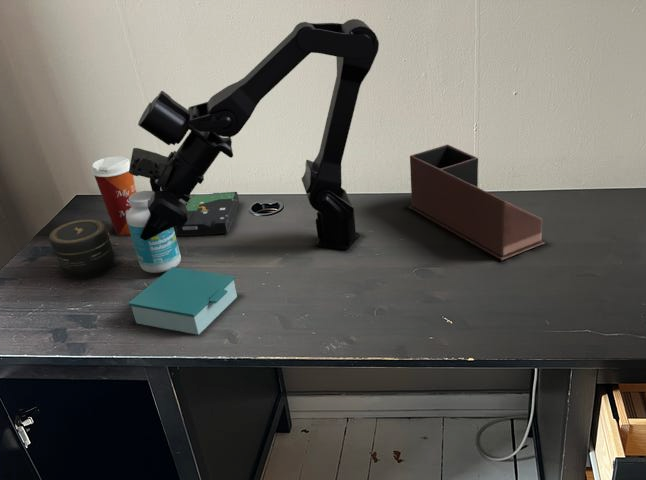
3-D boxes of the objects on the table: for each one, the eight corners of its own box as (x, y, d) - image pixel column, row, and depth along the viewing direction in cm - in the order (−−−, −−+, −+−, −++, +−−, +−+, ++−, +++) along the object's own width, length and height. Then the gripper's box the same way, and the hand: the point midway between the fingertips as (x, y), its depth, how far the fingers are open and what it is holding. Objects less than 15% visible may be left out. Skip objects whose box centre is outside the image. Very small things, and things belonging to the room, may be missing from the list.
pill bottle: (160, 278, 131) (140, 208, 123) (132, 269, 134) (110, 200, 126) (190, 259, 136) (173, 191, 128) (162, 251, 139) (143, 184, 131)
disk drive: (229, 234, 145) (239, 202, 157) (227, 222, 144) (237, 190, 156) (177, 238, 145) (191, 205, 157) (174, 225, 144) (188, 193, 156)
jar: (95, 250, 142) (84, 214, 138) (128, 263, 138) (117, 225, 133) (50, 272, 136) (36, 235, 131) (83, 286, 131) (69, 248, 127)
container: (244, 297, 125) (240, 277, 123) (205, 337, 116) (200, 315, 114) (177, 286, 130) (172, 266, 127) (134, 323, 120) (128, 303, 118)
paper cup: (137, 238, 146) (118, 170, 138) (102, 236, 147) (81, 169, 139) (155, 220, 152) (138, 155, 144) (122, 219, 153) (102, 154, 145)
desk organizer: (448, 194, 156) (448, 142, 149) (545, 244, 136) (549, 186, 129) (408, 208, 151) (405, 155, 144) (501, 262, 131) (503, 203, 124)
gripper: (151, 115, 129) (104, 183, 133) (147, 151, 114) (95, 227, 119) (206, 152, 134) (160, 216, 139) (209, 191, 120) (157, 262, 125)
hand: (143, 229), depth 130 cm, fingers closed on pill bottle, 7 cm apart
